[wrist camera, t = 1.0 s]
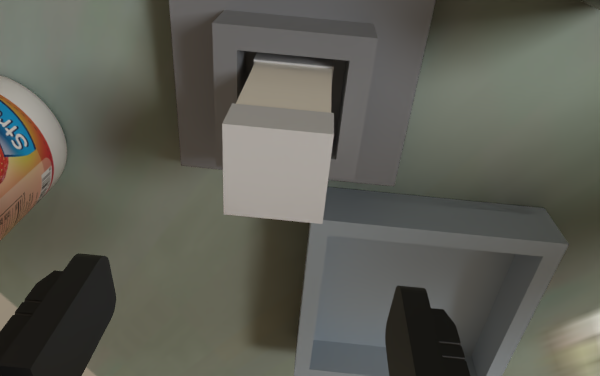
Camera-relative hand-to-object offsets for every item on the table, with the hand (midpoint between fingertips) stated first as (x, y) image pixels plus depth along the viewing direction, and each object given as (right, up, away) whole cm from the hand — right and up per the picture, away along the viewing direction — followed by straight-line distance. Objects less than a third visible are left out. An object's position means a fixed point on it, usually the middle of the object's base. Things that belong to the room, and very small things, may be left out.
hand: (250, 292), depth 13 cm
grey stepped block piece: (+1, +10, +16) cm, 18 cm away
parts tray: (+10, -5, +24) cm, 26 cm away
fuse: (+1, +9, +14) cm, 16 cm away
